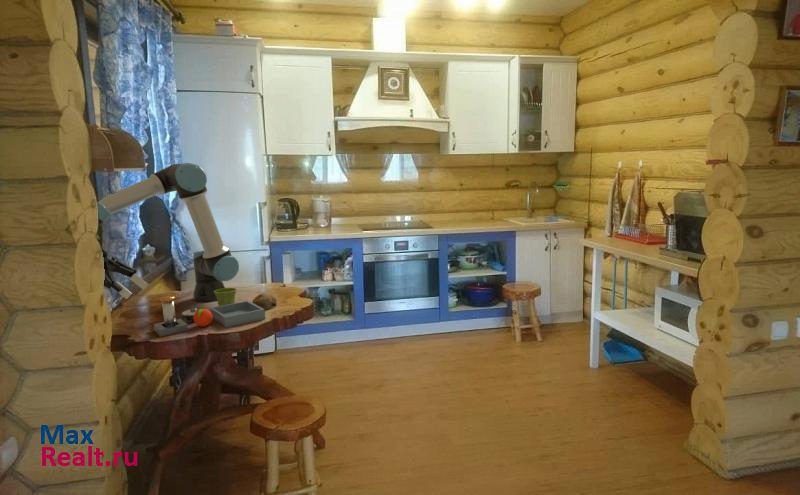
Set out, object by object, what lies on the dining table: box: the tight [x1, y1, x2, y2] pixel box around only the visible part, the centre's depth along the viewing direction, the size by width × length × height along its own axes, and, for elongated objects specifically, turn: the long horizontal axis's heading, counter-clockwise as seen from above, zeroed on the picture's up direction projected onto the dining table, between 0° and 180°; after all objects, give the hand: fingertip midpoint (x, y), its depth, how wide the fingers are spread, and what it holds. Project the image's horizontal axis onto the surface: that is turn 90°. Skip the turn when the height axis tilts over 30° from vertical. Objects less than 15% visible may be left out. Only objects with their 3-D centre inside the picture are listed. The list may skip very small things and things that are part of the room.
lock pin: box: [159, 295, 177, 327], centre depth 184 cm, size 5×5×13 cm
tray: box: [209, 300, 266, 328], centre depth 198 cm, size 18×16×4 cm
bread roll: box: [251, 292, 278, 310], centre depth 213 cm, size 10×10×8 cm
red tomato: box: [193, 307, 214, 327], centre depth 188 cm, size 8×7×7 cm
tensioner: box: [153, 307, 201, 338], centre depth 191 cm, size 18×20×4 cm
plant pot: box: [214, 287, 238, 306], centre depth 211 cm, size 9×9×9 cm
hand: (138, 291), depth 181 cm, fingers open, 13 cm apart
